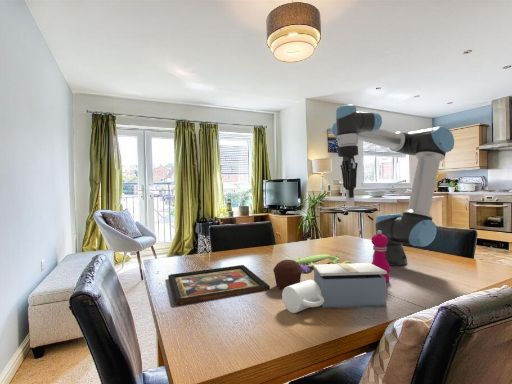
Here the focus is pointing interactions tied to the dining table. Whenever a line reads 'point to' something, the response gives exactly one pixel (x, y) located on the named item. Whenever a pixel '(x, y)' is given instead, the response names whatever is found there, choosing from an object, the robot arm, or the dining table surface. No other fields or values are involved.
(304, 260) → the figurine
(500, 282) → the dining table surface
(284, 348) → the dining table surface
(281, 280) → the muffin
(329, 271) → the lid
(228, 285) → the framed painting
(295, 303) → the mug
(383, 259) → the pepper mill
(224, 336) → the dining table surface
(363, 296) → the box
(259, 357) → the dining table surface
